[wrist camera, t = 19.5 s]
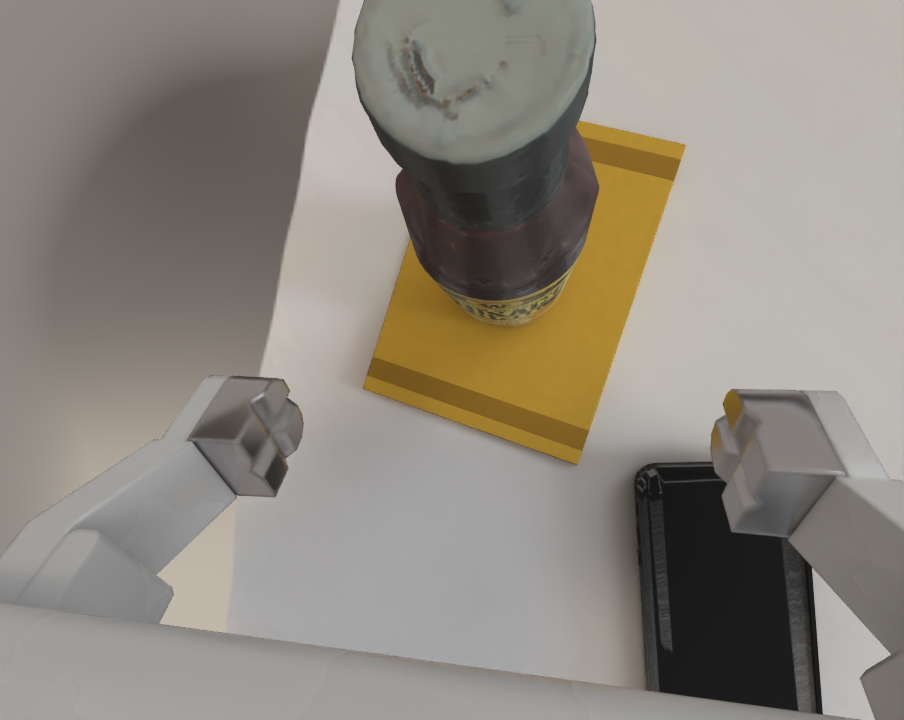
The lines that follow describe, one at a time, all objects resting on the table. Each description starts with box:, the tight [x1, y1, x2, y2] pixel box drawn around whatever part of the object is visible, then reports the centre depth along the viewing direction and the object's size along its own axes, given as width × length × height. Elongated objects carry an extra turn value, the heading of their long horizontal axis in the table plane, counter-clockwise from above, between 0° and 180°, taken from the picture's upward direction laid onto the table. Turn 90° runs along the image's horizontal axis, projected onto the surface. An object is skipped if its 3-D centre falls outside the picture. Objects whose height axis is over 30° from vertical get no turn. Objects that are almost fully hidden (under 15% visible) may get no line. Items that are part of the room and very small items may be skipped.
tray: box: [363, 121, 686, 465], centre depth 27 cm, size 18×13×1 cm
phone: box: [634, 462, 823, 714], centre depth 25 cm, size 8×1×15 cm
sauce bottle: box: [352, 0, 599, 327], centre depth 18 cm, size 6×6×20 cm
